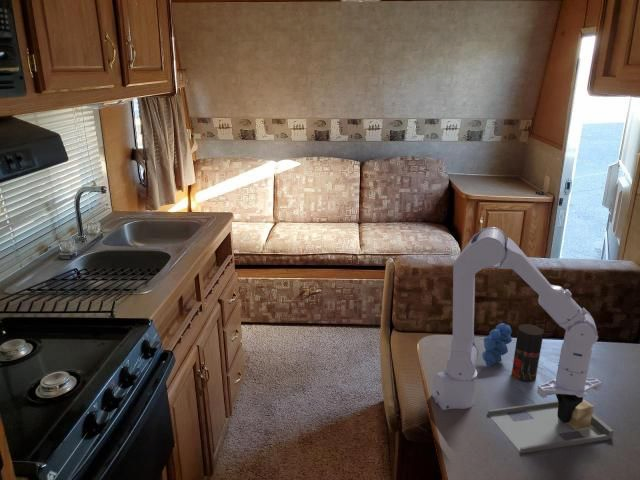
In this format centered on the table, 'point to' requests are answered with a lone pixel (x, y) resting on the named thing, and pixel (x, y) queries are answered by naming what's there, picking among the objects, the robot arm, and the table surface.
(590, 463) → the table surface
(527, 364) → the deodorant
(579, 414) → the block
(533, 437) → the board
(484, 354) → the grapes
